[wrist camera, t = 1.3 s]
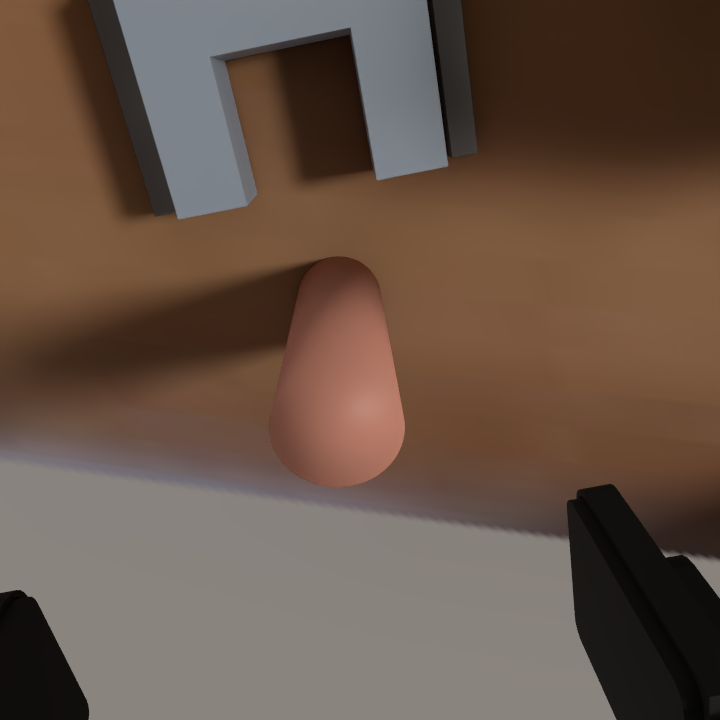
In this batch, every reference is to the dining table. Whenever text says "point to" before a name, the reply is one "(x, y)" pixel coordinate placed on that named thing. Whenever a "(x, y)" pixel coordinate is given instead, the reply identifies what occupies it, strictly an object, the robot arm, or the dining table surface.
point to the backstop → (118, 59)
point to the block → (264, 34)
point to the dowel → (337, 380)
